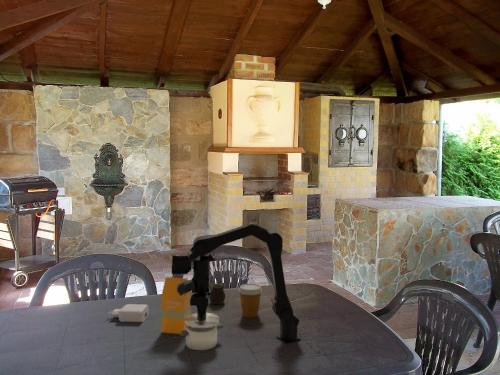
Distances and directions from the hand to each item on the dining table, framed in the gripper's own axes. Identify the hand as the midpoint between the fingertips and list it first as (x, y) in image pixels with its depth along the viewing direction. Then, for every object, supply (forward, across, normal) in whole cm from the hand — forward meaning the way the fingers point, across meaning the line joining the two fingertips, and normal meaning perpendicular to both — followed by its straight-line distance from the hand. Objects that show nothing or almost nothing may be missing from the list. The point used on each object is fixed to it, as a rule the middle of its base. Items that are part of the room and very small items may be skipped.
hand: (201, 316), depth 160 cm
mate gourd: (+10, -42, +3) cm, 44 cm away
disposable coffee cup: (+10, -28, +17) cm, 34 cm away
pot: (+10, 0, 0) cm, 10 cm away
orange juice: (+10, -12, -11) cm, 19 cm away
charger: (+10, -24, -32) cm, 41 cm away
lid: (+2, 0, 0) cm, 2 cm away
